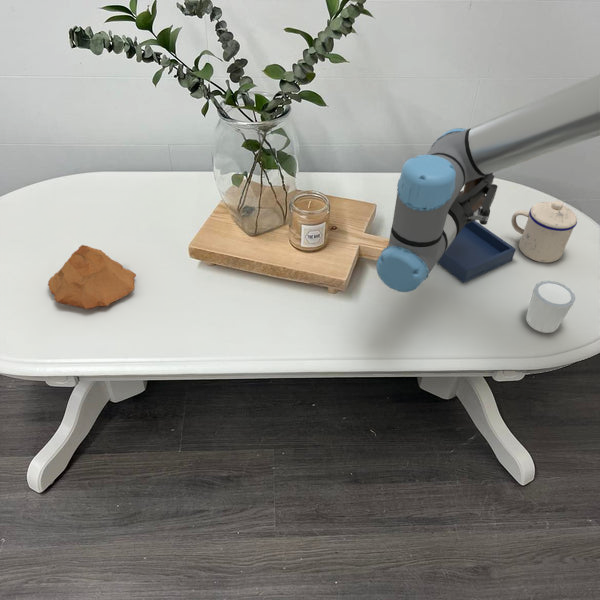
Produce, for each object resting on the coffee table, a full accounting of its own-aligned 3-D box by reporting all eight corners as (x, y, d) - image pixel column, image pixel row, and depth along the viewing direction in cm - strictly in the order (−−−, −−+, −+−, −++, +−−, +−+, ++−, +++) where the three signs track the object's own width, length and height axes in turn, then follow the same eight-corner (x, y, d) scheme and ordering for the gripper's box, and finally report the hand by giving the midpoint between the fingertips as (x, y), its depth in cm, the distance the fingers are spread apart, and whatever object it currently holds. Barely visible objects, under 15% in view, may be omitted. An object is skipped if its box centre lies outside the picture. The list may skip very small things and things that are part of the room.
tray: (512, 260, 117) (516, 249, 115) (463, 283, 111) (466, 271, 109) (452, 217, 127) (454, 206, 125) (404, 236, 122) (407, 224, 120)
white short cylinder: (534, 303, 107) (546, 274, 102) (568, 322, 104) (582, 293, 99) (515, 321, 104) (526, 292, 99) (550, 341, 100) (564, 312, 95)
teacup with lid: (568, 248, 120) (589, 201, 112) (554, 270, 115) (574, 222, 107) (513, 227, 125) (529, 180, 117) (497, 247, 120) (512, 199, 112)
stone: (43, 293, 109) (37, 241, 106) (119, 282, 117) (115, 234, 114) (64, 314, 98) (58, 257, 95) (146, 300, 106) (143, 247, 103)
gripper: (390, 228, 100) (441, 171, 115) (476, 260, 94) (518, 196, 109) (396, 191, 95) (449, 137, 110) (487, 222, 89) (530, 160, 104)
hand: (483, 166), depth 109 cm, fingers closed on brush, 3 cm apart
